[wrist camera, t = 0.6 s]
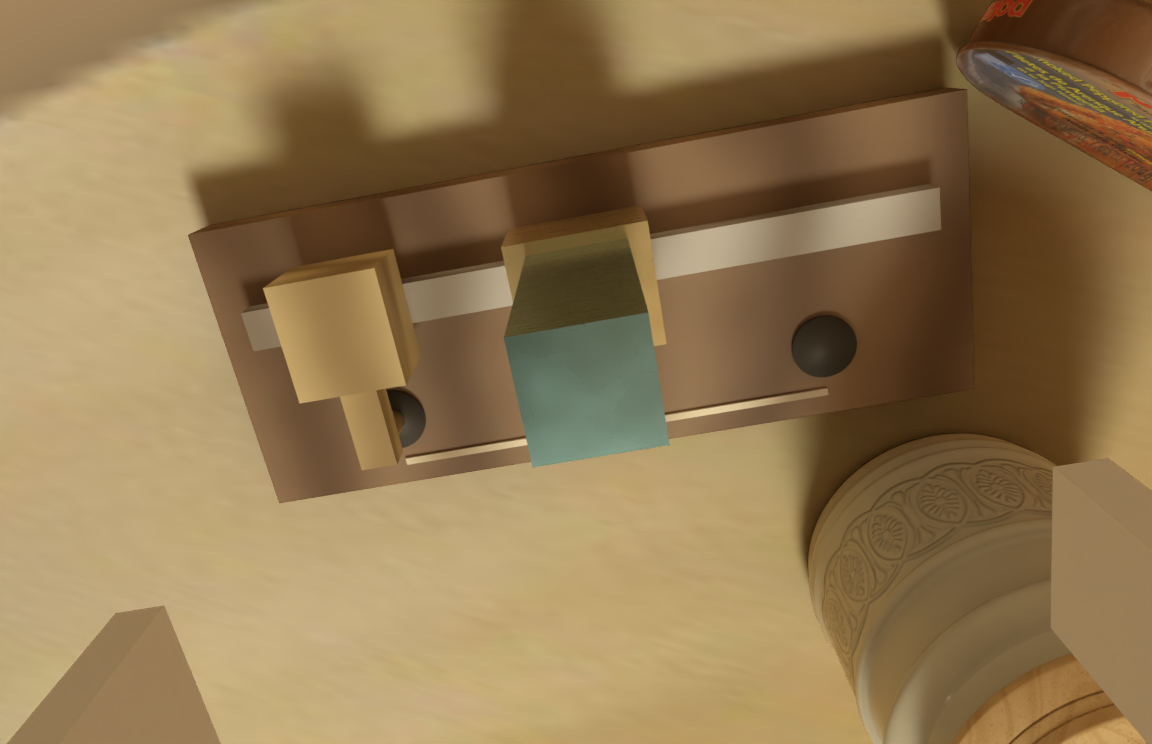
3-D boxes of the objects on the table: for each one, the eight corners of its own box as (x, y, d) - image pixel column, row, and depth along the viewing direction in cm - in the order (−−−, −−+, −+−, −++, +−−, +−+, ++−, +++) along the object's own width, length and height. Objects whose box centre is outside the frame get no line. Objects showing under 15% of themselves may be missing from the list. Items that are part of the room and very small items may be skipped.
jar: (785, 453, 39) (941, 749, 22) (1077, 400, 38) (1468, 667, 21) (815, 682, 43) (964, 1071, 26) (1078, 640, 42) (1402, 1016, 26)
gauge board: (293, 481, 39) (244, 555, 33) (208, 225, 35) (135, 258, 29) (954, 372, 37) (1023, 430, 31) (945, 87, 33) (1022, 93, 27)
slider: (548, 409, 35) (532, 595, 23) (509, 225, 32) (469, 325, 20) (668, 389, 35) (717, 567, 23) (639, 201, 32) (677, 288, 20)
